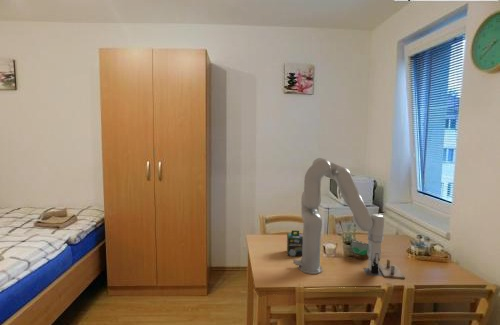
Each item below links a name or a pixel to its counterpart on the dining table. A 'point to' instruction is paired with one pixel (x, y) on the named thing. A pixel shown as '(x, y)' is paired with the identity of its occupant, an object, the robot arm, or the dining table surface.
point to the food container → (359, 250)
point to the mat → (371, 273)
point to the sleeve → (371, 266)
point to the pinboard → (390, 271)
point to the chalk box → (294, 244)
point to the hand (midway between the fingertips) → (373, 270)
